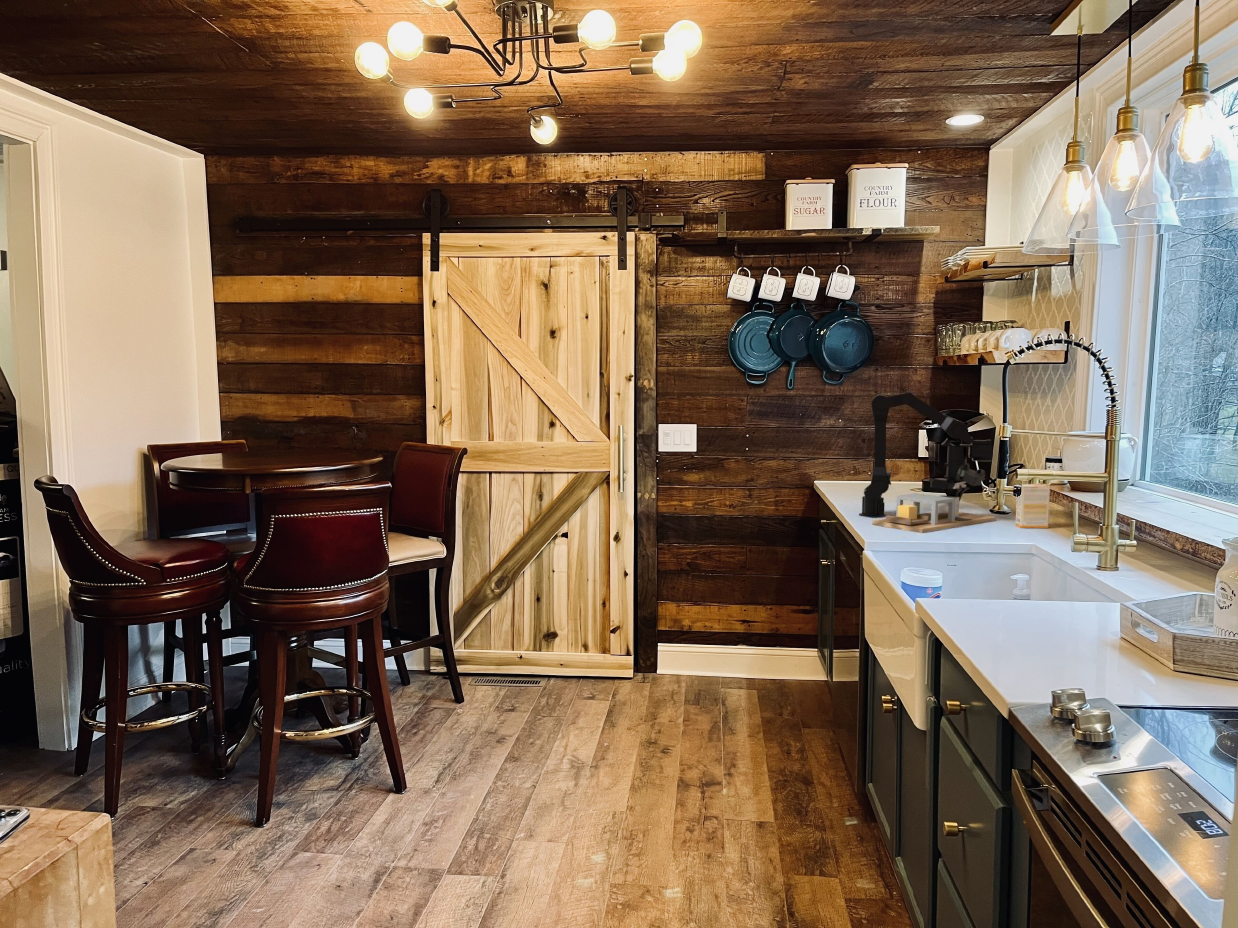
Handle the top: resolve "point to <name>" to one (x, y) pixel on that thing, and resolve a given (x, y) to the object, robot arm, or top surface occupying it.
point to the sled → (925, 518)
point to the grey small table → (932, 500)
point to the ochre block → (907, 511)
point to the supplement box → (1033, 506)
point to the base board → (943, 522)
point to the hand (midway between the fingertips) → (954, 508)
